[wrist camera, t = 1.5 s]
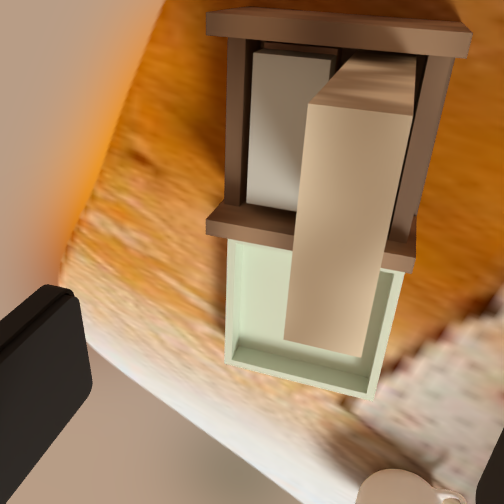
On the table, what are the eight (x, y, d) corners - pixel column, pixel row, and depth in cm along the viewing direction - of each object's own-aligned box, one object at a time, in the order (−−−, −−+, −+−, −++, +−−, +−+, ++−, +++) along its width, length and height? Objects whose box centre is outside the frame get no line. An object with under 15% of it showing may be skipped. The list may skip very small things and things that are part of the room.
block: (416, 51, 26) (413, 115, 14) (385, 203, 31) (361, 357, 18) (360, 46, 27) (307, 103, 14) (338, 196, 31) (283, 339, 19)
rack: (461, 22, 26) (472, 33, 20) (413, 223, 32) (411, 273, 26) (246, 6, 28) (205, 12, 23) (239, 194, 34) (205, 234, 29)
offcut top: (336, 54, 25) (330, 60, 24) (318, 201, 30) (312, 214, 28) (264, 48, 26) (253, 52, 25) (255, 190, 31) (246, 202, 29)
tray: (406, 250, 33) (406, 267, 31) (375, 379, 39) (373, 401, 37) (238, 219, 35) (227, 234, 33) (233, 345, 41) (224, 363, 39)
